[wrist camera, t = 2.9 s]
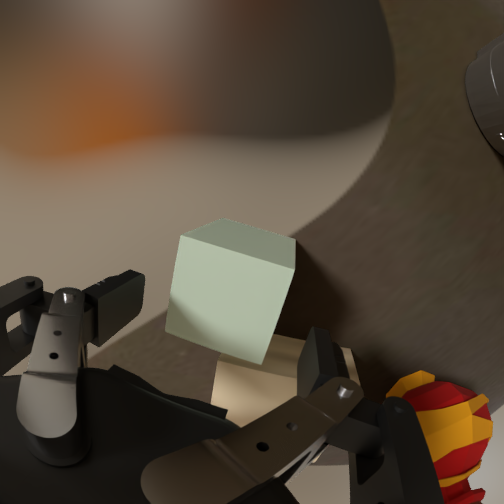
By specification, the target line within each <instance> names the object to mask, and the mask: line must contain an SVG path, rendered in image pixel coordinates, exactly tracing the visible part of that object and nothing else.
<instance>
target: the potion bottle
mask: <svg viewBox="0 0 504 504" xmlns="http://www.w3.org/2000/svg"><path fill="white" fill-rule="evenodd" d="M390 396H396V397H400V398H403V399H405V400H406V401H408V402H409V403H410V404H411V405H412V406H413V407H414V409H415V412H416V414H417V417H418V420H419V422H420V425H421V428H422V431H423V433H424V436H425V439H426V442H427V445H428V448H429V451H430V454H431V457H432V460H433V463H434V467H435V470H436V473H437V477H438V480H439V484H440V488H441V491H442V495H443V499H444V503H445V504H482V503H481V500H482V499H483V498H484V495H485V490H483V489H482V488H480V489H475V490H471V488H470V485H469V482H468V480H467V479H468V477H469V476H470V475H471V474H472V473H474V472H475V471H476V470H478V469H479V468H480V465H481V461H482V460H481V457H482V455H483V453H484V451H485V449H486V447H487V445H488V442H489V440H490V438H491V437H492V429H493V421H491V417H490V414H489V411H488V407H487V403H488V401H489V399H488V398H487V397H486V396H485V395H484V394H481V395H479V396H478V395H477V394H476V393H474V392H473V391H472V390H469V389H466V388H464V387H461V386H458V385H455V384H453V383H450V382H442V381H435V375H432V374H430V373H427V372H425V371H422V370H420V371H418V372H415V373H413V374H410V375H408V376H405V377H402V378H400V379H399V380H398V381H397V383H396V384H395V385H394V386H393V387H392V388H391V390H390V391H389V392H388V393H387V394H386V398H387V397H390Z"/></svg>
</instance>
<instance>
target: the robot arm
mask: <svg viewBox="0 0 504 504" xmlns="http://www.w3.org/2000/svg"><path fill="white" fill-rule="evenodd" d="M477 55H478V57H477V59H476V60H474V61H473V62H471V63H470V65H469V66H468V68H467V72H466V79H465V85H466V92H467V97H468V100H469V104H470V107H471V110H472V112H473V115H474V117H475V120H476V121H477V123H478V125H479V127H480V129H481V131H482V132H483V134H484V136H485V137H486V139H487V140H488V141H489V143H490V144H491V145H492V146H493V148H494V149H495V150H496V151H498V152H499V153H500V154H501V155H502V156H504V33H503V34H502V35H500V36H499V37H497V38H496V39H494V40H493V41H491V42H490V43H489V44H487V45H486V46H484V47H483V48H482V49H480V50H479V51H477ZM144 285H145V276H144V274H141V273H139V272H136V271H133V270H128V271H126V272H124V273H122V274H120V275H116V276H111V277H108V278H106V279H104V280H102V281H100V282H98V283H97V284H94V285H92V286H90V287H88V288H86V289H84V290H82V291H81V290H79V289H77V288H72V287H65V288H60V289H58V290H56V291H55V293H54V294H53V293H49V292H45V291H43V281H42V280H41V279H40V278H38V277H34V276H26V277H21V278H19V279H17V280H14V281H12V282H10V283H8V284H6V285H3V286H1V287H0V504H299V502H298V501H297V500H296V499H295V497H294V496H293V495H292V493H291V492H290V491H289V490H288V488H287V487H286V485H288V484H289V483H290V482H291V481H292V480H293V479H294V478H295V477H296V476H297V475H298V474H299V473H300V472H301V471H302V470H303V469H305V468H306V467H307V466H308V465H309V464H310V463H311V462H312V461H314V460H315V459H316V458H317V457H318V456H319V455H320V454H321V453H322V452H323V451H324V450H325V449H326V448H327V447H328V446H329V445H333V446H336V447H338V448H341V449H344V450H347V451H348V454H349V474H350V504H445V503H444V499H443V495H442V491H441V488H440V484H439V480H438V477H437V473H436V470H435V467H434V463H433V460H432V457H431V454H430V451H429V448H428V445H427V442H426V439H425V436H424V433H423V431H422V428H421V425H420V422H419V420H418V417H417V414H416V412H415V409H414V407H413V406H412V405H411V404H410V403H409V402H408V401H406V400H405V399H403V398H400V397H396V396H390V397H387V398H386V399H385V400H384V402H383V403H382V405H381V404H379V403H376V402H373V401H370V400H368V399H365V398H364V397H363V396H364V392H363V389H362V388H361V386H360V385H359V384H357V383H356V382H355V381H353V380H351V379H350V376H349V372H348V368H347V364H346V361H345V358H344V354H343V350H342V349H341V348H340V346H339V345H338V344H337V343H335V342H331V338H330V334H329V330H326V329H322V328H318V327H314V326H313V327H312V328H311V329H310V332H309V334H308V337H307V339H306V342H305V344H304V347H303V349H302V351H301V354H300V357H299V360H298V364H297V395H296V396H294V397H292V398H291V399H289V400H288V401H286V402H285V403H283V404H281V405H280V406H278V407H276V408H275V409H273V410H271V411H270V412H268V413H266V414H265V415H263V416H261V417H259V418H258V419H256V420H254V421H252V422H250V423H249V424H247V425H245V426H243V427H239V426H238V425H237V424H235V423H234V422H232V421H230V420H228V419H227V418H226V415H227V412H228V409H224V408H221V407H218V406H215V405H212V404H208V403H205V402H202V401H200V400H196V399H190V398H184V397H179V396H173V395H168V394H165V393H162V392H161V391H159V390H158V389H156V388H155V387H153V386H152V385H150V384H149V383H148V382H146V381H145V380H143V379H142V378H141V377H139V376H137V375H135V374H133V373H131V372H129V371H127V370H125V369H122V368H120V367H118V366H116V365H113V366H112V367H111V368H110V369H109V370H104V369H99V368H88V362H87V344H88V343H89V342H91V343H92V344H94V345H96V346H98V347H100V346H101V345H103V344H104V343H105V342H106V341H107V340H109V339H110V338H111V337H112V336H113V335H115V334H116V333H117V332H118V331H119V330H120V329H122V328H123V327H124V326H126V325H127V324H128V323H129V322H130V321H131V320H133V319H134V318H135V317H136V316H138V314H139V313H140V311H141V309H142V304H143V294H144ZM18 311H19V312H20V318H21V325H19V326H17V327H16V328H14V329H13V330H11V331H10V332H8V333H7V329H6V321H7V319H8V318H9V317H10V316H11V315H13V314H14V313H16V312H18ZM30 353H31V356H30V360H29V365H28V369H27V371H26V372H23V374H22V375H12V376H3V375H4V374H5V373H6V372H8V371H9V370H10V369H11V368H12V367H14V366H15V365H16V364H18V363H19V362H20V361H21V360H23V359H24V358H25V357H27V356H28V355H29V354H30Z"/></svg>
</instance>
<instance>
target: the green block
mask: <svg viewBox="0 0 504 504" xmlns="http://www.w3.org/2000/svg"><path fill="white" fill-rule="evenodd" d="M295 245H296V239H293V238H289V237H286V236H283V235H279V234H276V233H273V232H269V231H266V230H262V229H259V228H256V227H252V226H249V225H245V224H242V223H239V222H235V221H232V220H228V219H225V218H222V219H220V220H217V221H214V222H212V223H209V224H207V225H204V226H202V227H199V228H197V229H194V230H192V231H190V232H187V233H185V234H182V235H181V237H180V242H179V248H178V252H177V258H176V263H175V269H174V275H173V281H172V286H171V293H170V299H169V306H168V312H167V319H166V327H165V331H166V332H168V333H171V334H173V335H176V336H178V337H181V338H183V339H186V340H188V341H191V342H194V343H196V344H199V345H202V346H205V347H207V348H210V349H213V350H216V351H219V352H222V353H225V354H228V355H231V356H234V357H237V358H240V359H243V360H247V361H250V362H253V363H257V364H260V365H261V364H262V362H263V359H264V356H265V354H266V351H267V348H268V346H269V343H270V340H271V338H272V335H273V332H274V329H275V327H276V324H277V321H278V318H279V315H280V312H281V310H282V307H283V304H284V301H285V298H286V295H287V292H288V289H289V286H290V283H291V280H292V277H293V274H294V271H295Z"/></svg>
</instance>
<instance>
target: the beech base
mask: <svg viewBox="0 0 504 504" xmlns="http://www.w3.org/2000/svg"><path fill="white" fill-rule="evenodd" d="M305 342H306V341H305V340H300V339H295V338H290V337H285V336H281V335H276V334H273V335H272V338H271V340H270V343H269V346H268V348H267V351H266V354H265V356H264V359H263V362H262V364H261V365H260V364H257V363H253V362H250V361H247V360H243V359H240V358H237V357H234V356H231V355H228V354H225V353H222V352H221V355H220V357H219V359H218V362H217V368H216V374H215V380H214V387H213V393H212V400H211V404H212V405H215V406H218V407H221V408H224V409H228V412H227V415H226V418H227V419H228V420H230V421H232V422H234V423H235V424H237V425H238V426H239V427H243V426H245V425H247V424H249V423H250V422H252V421H254V420H256V419H258V418H259V417H261V416H263V415H265V414H266V413H268V412H270V411H271V410H273V409H275V408H276V407H278V406H280V405H281V404H283V403H285V402H286V401H288V400H289V399H291V398H292V397H294V396H296V395H297V364H298V360H299V357H300V354H301V351H302V349H303V347H304V344H305ZM340 348H341V349H342V350H343V354H344V358H345V361H346V364H347V368H348V372H349V376H350V379H351V380H353V381H355V382H356V383H357V384H359V385H360V381H359V378H358V374H357V370H356V367H355V363H354V360H353V356H352V353H351V349H349V348H343V347H340ZM360 386H361V385H360ZM319 456H320V455H319ZM319 456H318V457H319ZM318 457H317V458H318ZM317 458H316V459H315V460H314V461H312V462H315V461H316V460H317Z"/></svg>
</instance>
